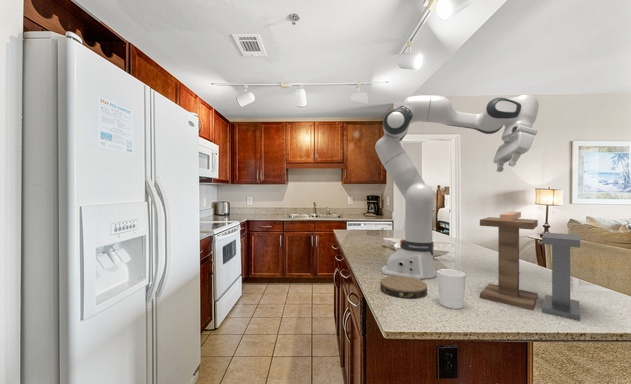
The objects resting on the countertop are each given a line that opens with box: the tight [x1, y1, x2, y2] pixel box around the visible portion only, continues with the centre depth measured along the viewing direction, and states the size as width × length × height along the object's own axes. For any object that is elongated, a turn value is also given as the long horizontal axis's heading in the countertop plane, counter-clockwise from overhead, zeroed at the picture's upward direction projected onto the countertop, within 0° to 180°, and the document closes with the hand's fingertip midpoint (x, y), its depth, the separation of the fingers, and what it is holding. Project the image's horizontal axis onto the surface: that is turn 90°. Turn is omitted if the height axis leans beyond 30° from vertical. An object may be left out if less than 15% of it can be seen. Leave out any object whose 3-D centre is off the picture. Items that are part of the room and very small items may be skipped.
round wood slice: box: [380, 275, 428, 300], centre depth 98 cm, size 16×16×3 cm
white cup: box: [436, 268, 467, 310], centre depth 85 cm, size 8×8×10 cm
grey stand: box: [541, 231, 581, 322], centre depth 82 cm, size 14×8×22 cm, turn 137°
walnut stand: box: [479, 216, 539, 311], centre depth 91 cm, size 14×14×26 cm
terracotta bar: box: [499, 211, 522, 221], centre depth 95 cm, size 22×3×2 cm, turn 137°
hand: (505, 168), depth 106 cm, fingers open, 8 cm apart
